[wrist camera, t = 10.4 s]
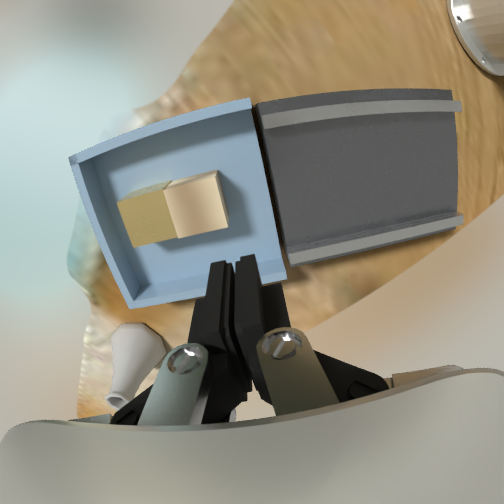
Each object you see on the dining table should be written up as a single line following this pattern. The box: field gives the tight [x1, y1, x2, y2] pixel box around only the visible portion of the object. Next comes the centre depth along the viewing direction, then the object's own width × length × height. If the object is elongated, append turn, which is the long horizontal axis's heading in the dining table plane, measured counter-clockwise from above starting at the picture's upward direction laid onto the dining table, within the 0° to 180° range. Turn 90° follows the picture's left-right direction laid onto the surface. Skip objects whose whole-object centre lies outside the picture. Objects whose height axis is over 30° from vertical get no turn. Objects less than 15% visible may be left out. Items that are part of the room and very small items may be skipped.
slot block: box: [255, 89, 464, 268], centre depth 23 cm, size 18×14×5 cm
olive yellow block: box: [117, 180, 178, 248], centre depth 23 cm, size 4×4×3 cm
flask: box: [104, 323, 167, 410], centre depth 30 cm, size 7×7×10 cm
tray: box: [69, 98, 287, 309], centre depth 24 cm, size 15×15×5 cm
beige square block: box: [163, 169, 229, 238], centre depth 23 cm, size 4×4×3 cm
